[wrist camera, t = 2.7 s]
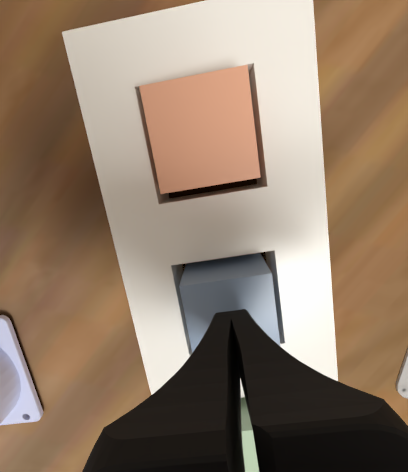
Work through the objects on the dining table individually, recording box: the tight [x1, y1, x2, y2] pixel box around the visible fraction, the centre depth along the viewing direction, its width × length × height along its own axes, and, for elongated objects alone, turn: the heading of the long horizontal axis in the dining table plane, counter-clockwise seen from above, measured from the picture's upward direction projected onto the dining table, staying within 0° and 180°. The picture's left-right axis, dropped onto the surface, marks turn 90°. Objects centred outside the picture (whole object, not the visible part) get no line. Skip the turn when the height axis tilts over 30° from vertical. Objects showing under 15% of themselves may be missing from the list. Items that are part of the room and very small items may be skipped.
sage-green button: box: [241, 397, 259, 472], centre depth 15 cm, size 4×4×3 cm
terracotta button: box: [139, 65, 261, 194], centre depth 12 cm, size 4×4×3 cm
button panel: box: [62, 0, 338, 398], centre depth 15 cm, size 10×26×3 cm, turn 9°
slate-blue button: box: [179, 253, 280, 353], centre depth 13 cm, size 4×4×3 cm
